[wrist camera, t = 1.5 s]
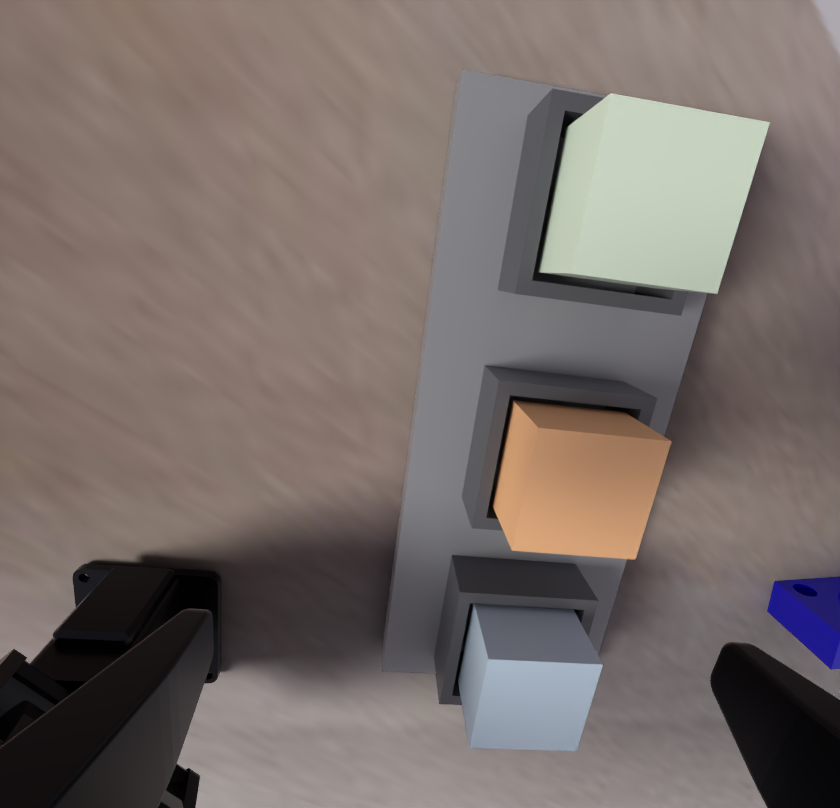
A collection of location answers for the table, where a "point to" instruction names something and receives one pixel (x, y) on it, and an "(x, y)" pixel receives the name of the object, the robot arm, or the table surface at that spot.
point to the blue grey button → (526, 678)
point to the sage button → (650, 194)
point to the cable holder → (810, 614)
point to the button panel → (511, 377)
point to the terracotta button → (577, 480)
